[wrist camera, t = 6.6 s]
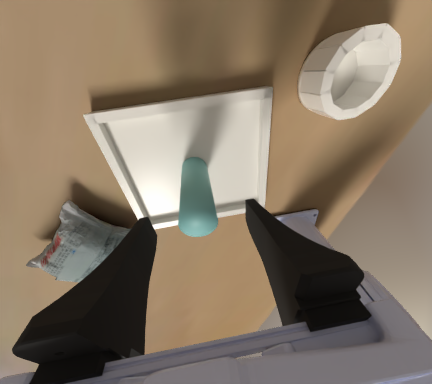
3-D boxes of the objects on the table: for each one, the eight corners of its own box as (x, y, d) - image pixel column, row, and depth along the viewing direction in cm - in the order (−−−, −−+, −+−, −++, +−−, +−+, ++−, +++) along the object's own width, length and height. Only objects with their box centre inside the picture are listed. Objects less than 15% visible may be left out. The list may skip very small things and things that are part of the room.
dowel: (208, 177, 20) (219, 233, 13) (184, 181, 20) (182, 239, 13) (205, 155, 18) (216, 205, 11) (179, 158, 18) (174, 211, 11)
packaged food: (41, 246, 23) (11, 282, 19) (76, 190, 19) (48, 220, 15) (106, 265, 28) (93, 298, 24) (146, 222, 24) (138, 252, 20)
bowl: (347, 107, 18) (379, 113, 15) (292, 115, 18) (313, 124, 15) (371, 29, 15) (417, 18, 12) (303, 39, 14) (333, 30, 11)
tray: (260, 202, 24) (264, 209, 23) (146, 222, 23) (144, 230, 22) (266, 86, 16) (272, 87, 15) (91, 111, 15) (82, 115, 14)
